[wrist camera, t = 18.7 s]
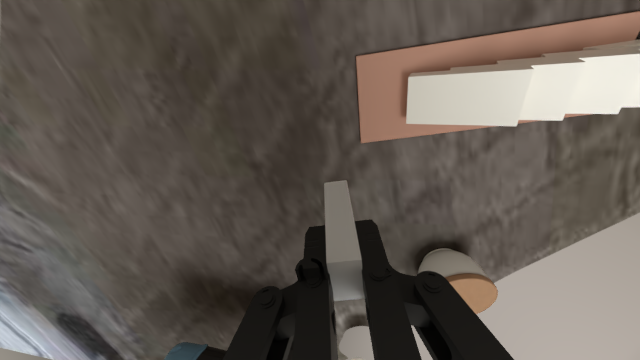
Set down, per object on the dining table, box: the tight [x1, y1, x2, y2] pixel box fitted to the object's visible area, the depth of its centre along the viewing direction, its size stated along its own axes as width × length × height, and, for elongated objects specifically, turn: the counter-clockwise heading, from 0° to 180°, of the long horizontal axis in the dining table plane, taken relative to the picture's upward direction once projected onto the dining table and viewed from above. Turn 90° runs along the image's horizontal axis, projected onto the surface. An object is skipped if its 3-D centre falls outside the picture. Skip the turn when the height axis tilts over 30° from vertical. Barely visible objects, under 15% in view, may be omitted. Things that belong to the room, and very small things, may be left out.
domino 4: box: [541, 46, 640, 107], centre depth 23 cm, size 2×5×10 cm
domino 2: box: [450, 58, 586, 121], centre depth 24 cm, size 2×5×10 cm
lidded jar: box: [418, 248, 498, 314], centre depth 39 cm, size 11×11×9 cm
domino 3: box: [496, 50, 640, 114], centre depth 23 cm, size 2×5×10 cm
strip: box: [356, 11, 640, 143], centre depth 27 cm, size 28×10×1 cm, turn 98°
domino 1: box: [406, 65, 534, 126], centre depth 24 cm, size 2×5×10 cm
